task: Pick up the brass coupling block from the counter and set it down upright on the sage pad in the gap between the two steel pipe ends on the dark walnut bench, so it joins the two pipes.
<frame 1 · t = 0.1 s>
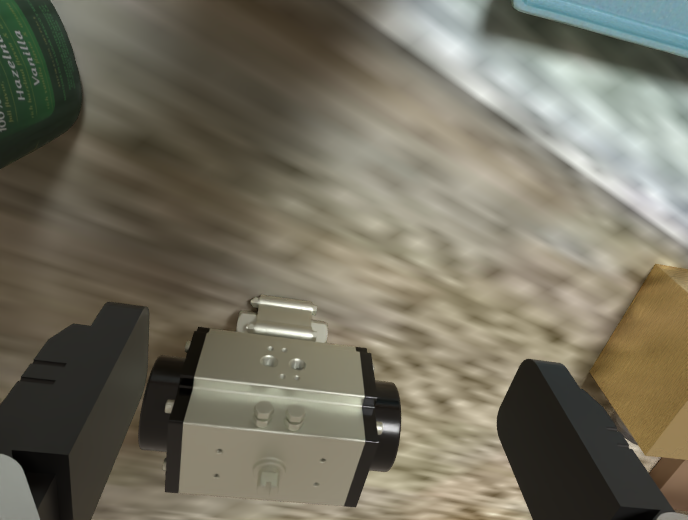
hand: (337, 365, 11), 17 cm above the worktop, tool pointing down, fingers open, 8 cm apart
coupling block: (649, 325, 33), on the worktop
pneumatic valve: (284, 310, 31), on the worktop
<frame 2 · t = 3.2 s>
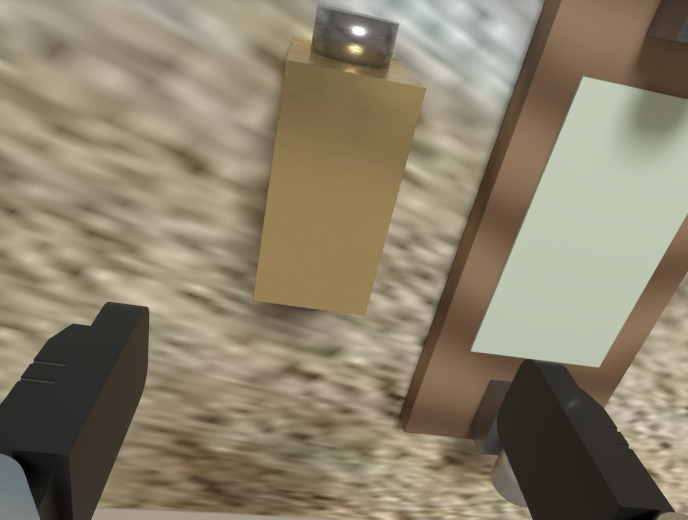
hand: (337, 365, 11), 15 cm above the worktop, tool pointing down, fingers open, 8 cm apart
coupling block: (325, 147, 24), on the worktop
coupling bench: (576, 230, 27), on the worktop
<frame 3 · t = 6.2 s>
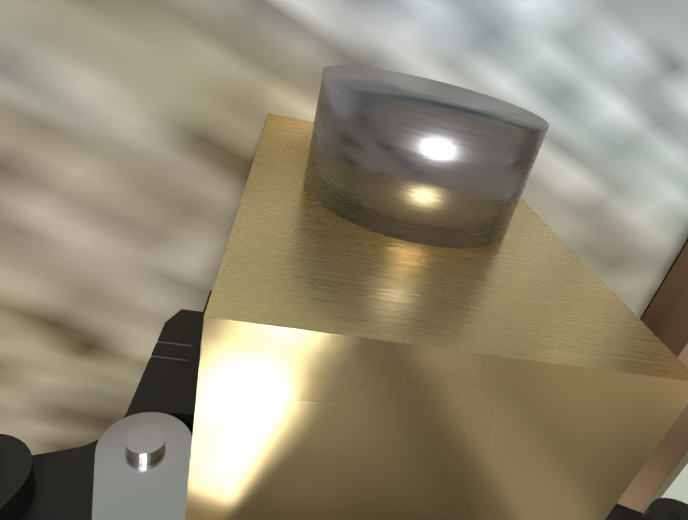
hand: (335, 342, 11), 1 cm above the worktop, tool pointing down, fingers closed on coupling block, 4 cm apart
coupling block: (334, 311, 12), on the worktop, touching gripper
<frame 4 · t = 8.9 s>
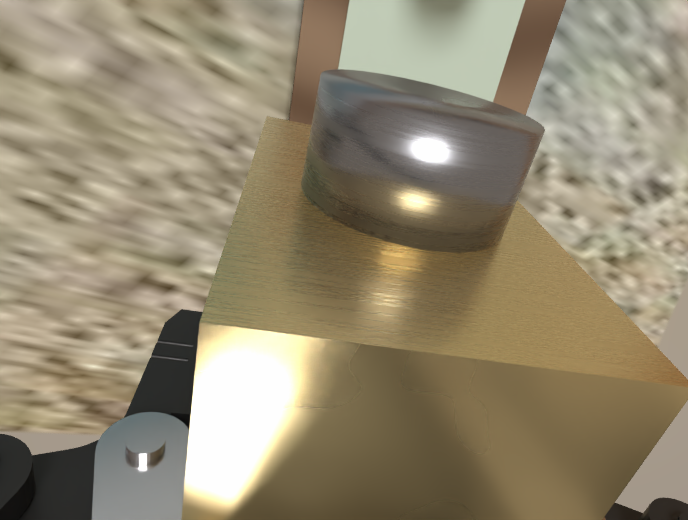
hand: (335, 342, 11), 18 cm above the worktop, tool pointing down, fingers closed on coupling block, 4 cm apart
coupling block: (332, 313, 13), point 17 cm above the worktop, touching gripper
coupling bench: (399, 127, 27), on the worktop
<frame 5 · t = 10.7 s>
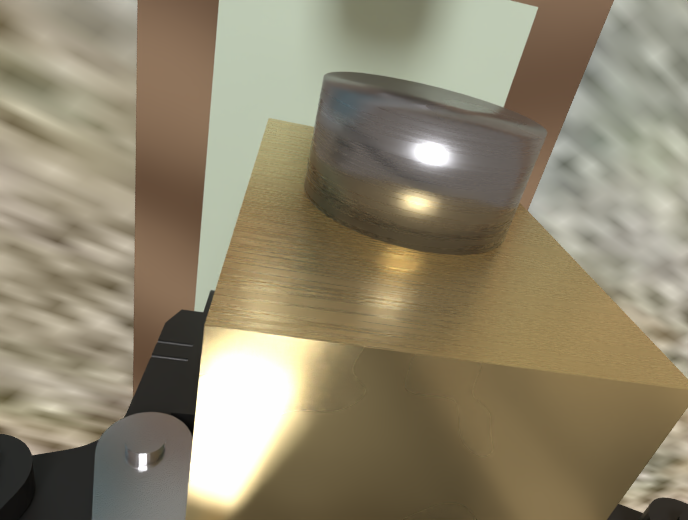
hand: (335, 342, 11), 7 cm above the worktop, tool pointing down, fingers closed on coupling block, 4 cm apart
coupling block: (334, 315, 13), point 6 cm above the worktop, touching gripper
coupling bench: (329, 217, 17), on the worktop
when the fingers open (4 cm above the worktop, at t = 12.0 s): coupling block drops 1 cm, resting on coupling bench.
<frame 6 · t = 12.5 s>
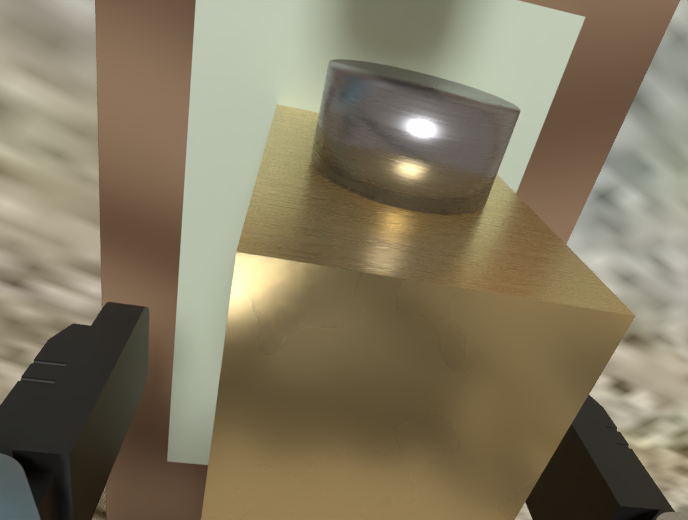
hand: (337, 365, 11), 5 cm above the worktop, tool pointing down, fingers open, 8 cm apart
coupling block: (334, 288, 14), point 2 cm above the worktop, touching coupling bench
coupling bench: (329, 256, 15), on the worktop
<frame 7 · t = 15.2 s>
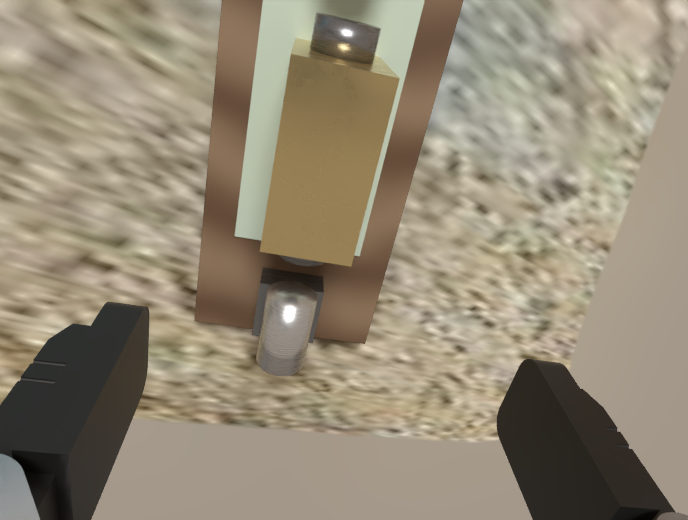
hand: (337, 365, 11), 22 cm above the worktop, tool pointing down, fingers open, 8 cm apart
coupling block: (321, 131, 28), point 2 cm above the worktop, touching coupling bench
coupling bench: (319, 122, 30), on the worktop
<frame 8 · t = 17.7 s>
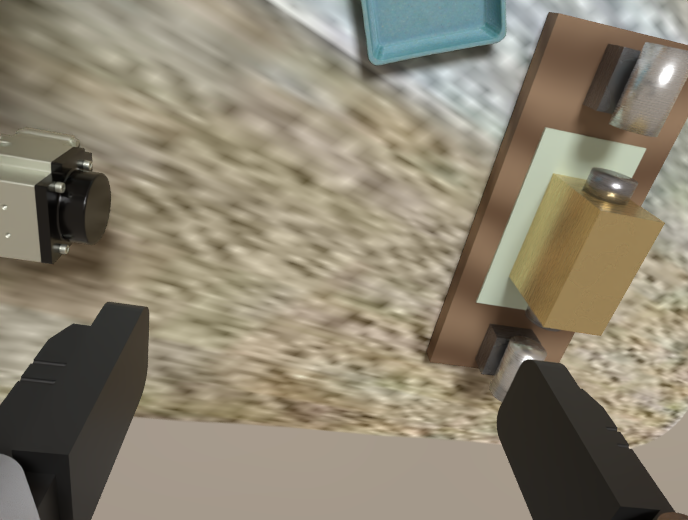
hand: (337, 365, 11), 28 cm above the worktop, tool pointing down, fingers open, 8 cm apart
coupling block: (556, 232, 40), point 2 cm above the worktop, touching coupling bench
pneumatic valve: (54, 146, 36), on the worktop
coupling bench: (546, 222, 41), on the worktop
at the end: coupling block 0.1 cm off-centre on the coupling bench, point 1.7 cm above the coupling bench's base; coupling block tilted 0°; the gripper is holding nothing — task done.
